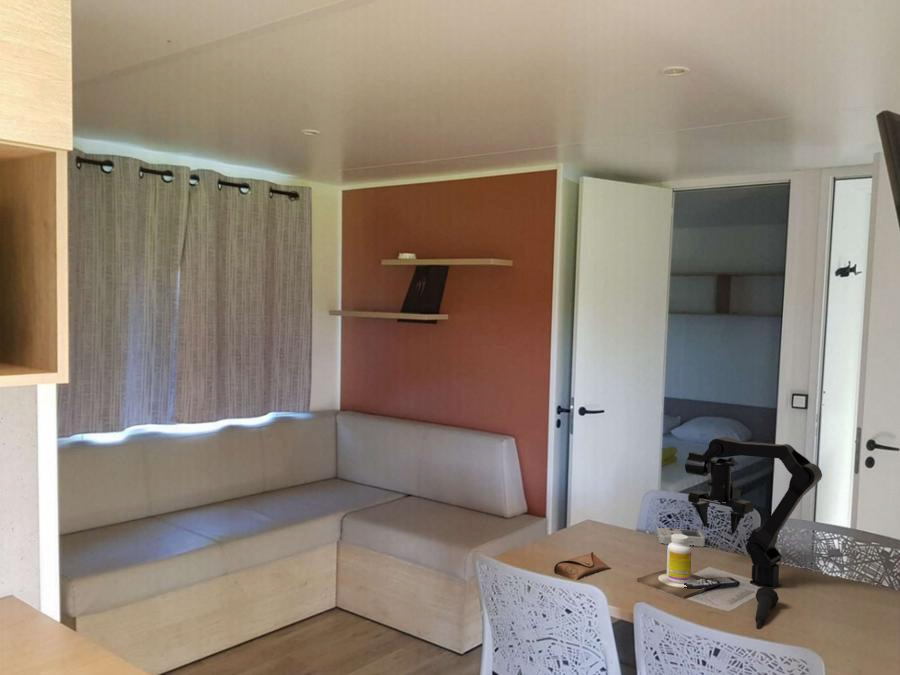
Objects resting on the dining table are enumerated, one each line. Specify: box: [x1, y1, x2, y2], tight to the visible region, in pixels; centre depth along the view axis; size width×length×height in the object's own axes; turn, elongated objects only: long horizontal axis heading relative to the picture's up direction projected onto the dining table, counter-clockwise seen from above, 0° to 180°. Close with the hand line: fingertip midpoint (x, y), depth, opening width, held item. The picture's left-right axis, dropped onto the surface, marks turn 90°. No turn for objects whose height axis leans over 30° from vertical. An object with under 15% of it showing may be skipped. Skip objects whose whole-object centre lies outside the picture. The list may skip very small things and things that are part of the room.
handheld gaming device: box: [656, 527, 706, 548], centre depth 254 cm, size 9×15×4 cm, turn 80°
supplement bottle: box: [666, 534, 692, 583], centre depth 214 cm, size 7×7×13 cm
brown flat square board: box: [636, 568, 707, 599], centre depth 214 cm, size 16×17×1 cm
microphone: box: [754, 586, 780, 630], centre depth 193 cm, size 6×6×20 cm
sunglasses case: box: [553, 551, 612, 581], centre depth 224 cm, size 18×7×7 cm
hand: (719, 529), depth 225 cm, fingers open, 9 cm apart
